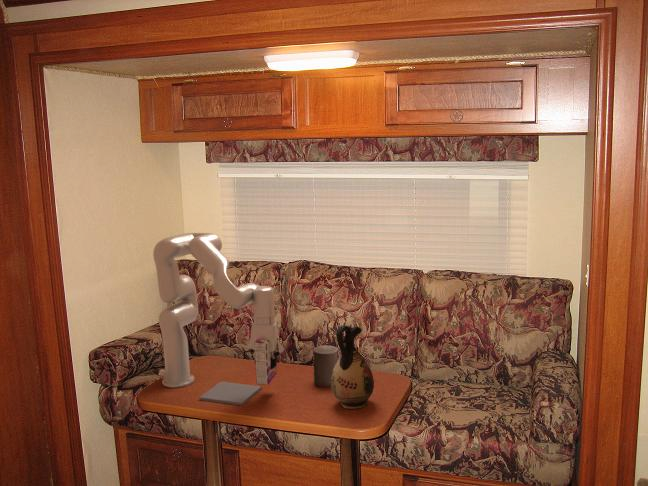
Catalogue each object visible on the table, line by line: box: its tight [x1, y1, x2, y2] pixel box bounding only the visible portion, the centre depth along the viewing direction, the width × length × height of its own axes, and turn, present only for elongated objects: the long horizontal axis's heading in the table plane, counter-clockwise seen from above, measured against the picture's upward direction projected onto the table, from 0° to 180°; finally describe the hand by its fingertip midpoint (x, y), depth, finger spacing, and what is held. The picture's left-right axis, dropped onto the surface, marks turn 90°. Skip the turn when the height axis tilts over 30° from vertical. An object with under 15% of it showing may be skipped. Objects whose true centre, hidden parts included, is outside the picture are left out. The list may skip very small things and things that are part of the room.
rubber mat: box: [198, 381, 263, 406], centre depth 233 cm, size 18×16×1 cm
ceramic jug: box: [330, 324, 375, 409], centre depth 218 cm, size 17×15×30 cm
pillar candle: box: [312, 345, 339, 388], centre depth 240 cm, size 10×10×15 cm
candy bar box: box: [254, 339, 277, 386], centre depth 227 cm, size 11×5×16 cm, turn 168°
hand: (265, 366), depth 228 cm, fingers closed on candy bar box, 5 cm apart
